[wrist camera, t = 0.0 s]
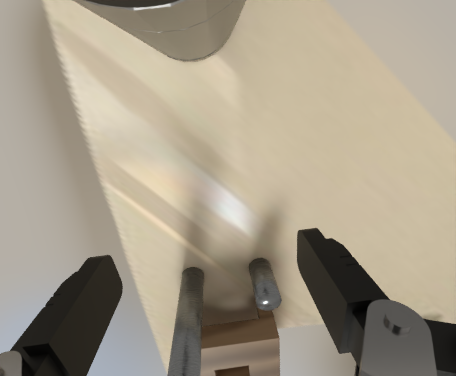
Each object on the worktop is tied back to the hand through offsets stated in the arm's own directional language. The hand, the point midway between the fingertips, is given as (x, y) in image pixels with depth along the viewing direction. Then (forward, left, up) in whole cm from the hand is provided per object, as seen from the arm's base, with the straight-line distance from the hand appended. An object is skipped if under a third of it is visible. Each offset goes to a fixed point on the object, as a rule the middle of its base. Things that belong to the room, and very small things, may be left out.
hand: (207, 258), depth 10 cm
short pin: (+19, +5, -17) cm, 26 cm away
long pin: (+19, -5, -17) cm, 26 cm away
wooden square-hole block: (+33, -1, -17) cm, 37 cm away
